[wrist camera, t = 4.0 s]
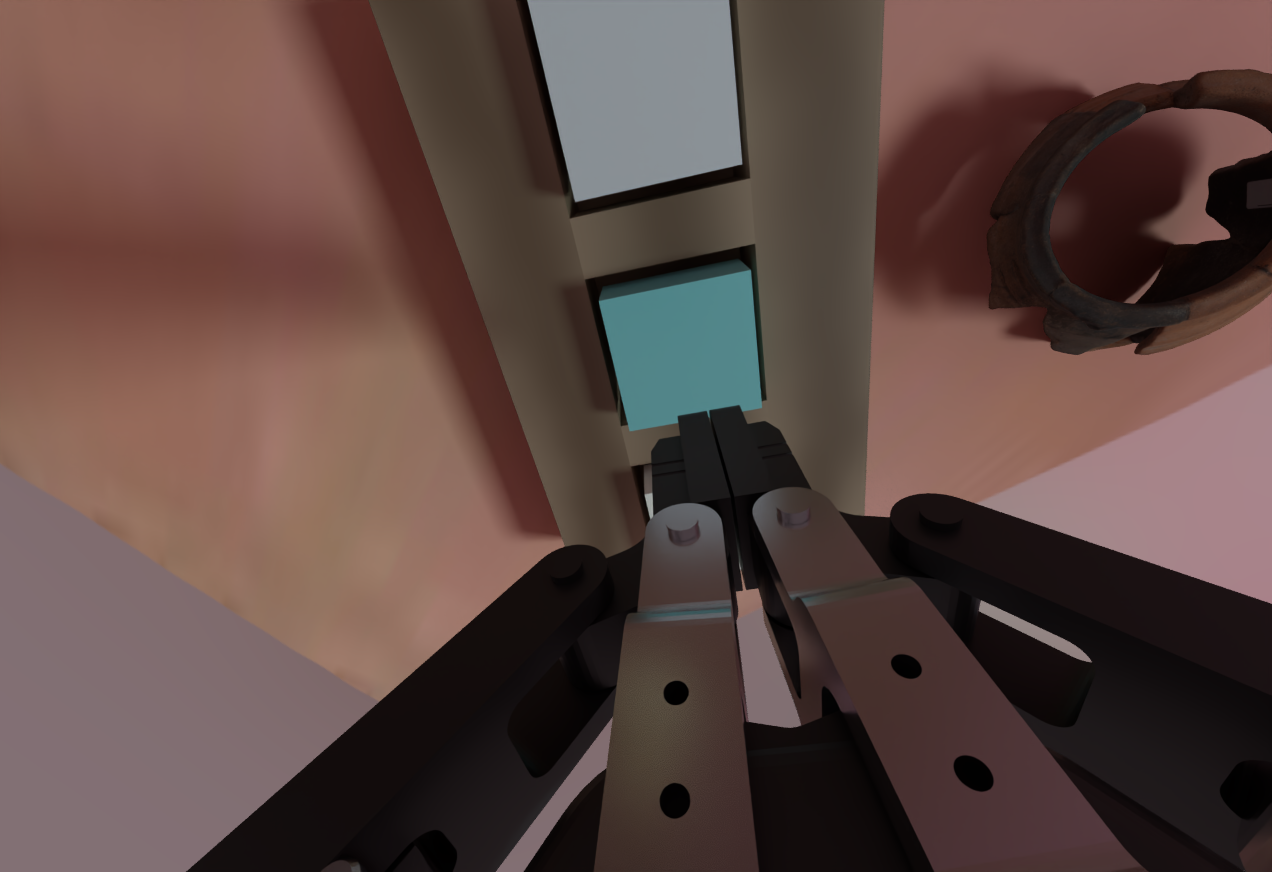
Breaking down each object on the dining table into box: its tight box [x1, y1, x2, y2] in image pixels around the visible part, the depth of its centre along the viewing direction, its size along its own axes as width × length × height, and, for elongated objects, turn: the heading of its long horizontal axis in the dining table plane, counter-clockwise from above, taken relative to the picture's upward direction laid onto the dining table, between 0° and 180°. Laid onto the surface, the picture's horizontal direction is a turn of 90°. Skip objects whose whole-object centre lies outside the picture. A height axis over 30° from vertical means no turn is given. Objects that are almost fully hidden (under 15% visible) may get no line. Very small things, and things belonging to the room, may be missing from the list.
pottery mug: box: [987, 69, 1272, 355], centre depth 17 cm, size 12×10×8 cm
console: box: [368, 0, 884, 558], centre depth 20 cm, size 14×24×4 cm, turn 11°
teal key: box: [599, 259, 762, 431], centre depth 18 cm, size 5×5×2 cm
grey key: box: [527, 0, 742, 202], centre depth 14 cm, size 5×5×2 cm
